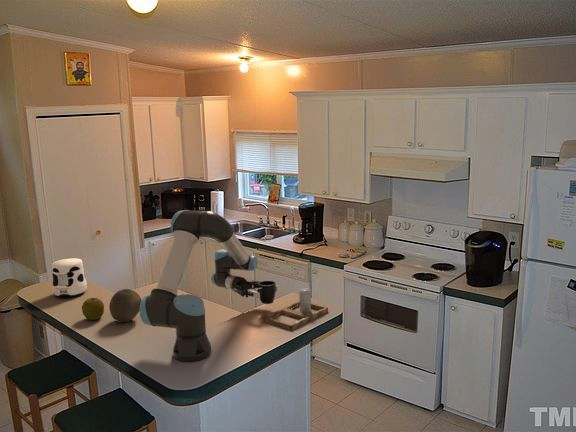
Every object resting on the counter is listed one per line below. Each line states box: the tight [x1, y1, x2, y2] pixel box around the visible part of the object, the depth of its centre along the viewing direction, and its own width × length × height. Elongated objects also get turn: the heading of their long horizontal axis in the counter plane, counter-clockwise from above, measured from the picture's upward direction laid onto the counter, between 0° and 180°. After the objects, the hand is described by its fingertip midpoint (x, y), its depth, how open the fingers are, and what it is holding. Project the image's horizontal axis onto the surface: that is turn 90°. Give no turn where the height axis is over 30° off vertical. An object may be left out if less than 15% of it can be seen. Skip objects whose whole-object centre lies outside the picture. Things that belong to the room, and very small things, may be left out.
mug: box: [256, 280, 277, 305], centre depth 250 cm, size 8×12×10 cm
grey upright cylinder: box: [298, 287, 312, 314], centre depth 250 cm, size 6×6×11 cm
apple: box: [81, 297, 105, 321], centre depth 249 cm, size 10×10×11 cm
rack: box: [262, 300, 329, 331], centre depth 246 cm, size 27×17×2 cm, turn 140°
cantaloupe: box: [108, 288, 142, 323], centre depth 245 cm, size 14×14×15 cm
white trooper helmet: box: [51, 257, 88, 298], centre depth 284 cm, size 17×17×18 cm
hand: (268, 292), depth 248 cm, fingers closed on mug, 12 cm apart
